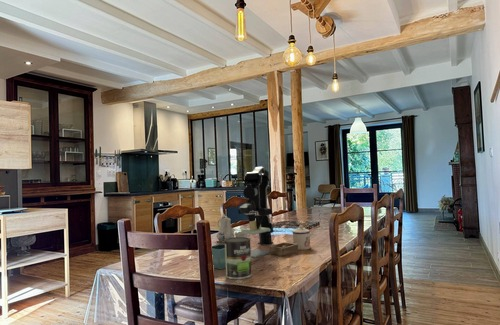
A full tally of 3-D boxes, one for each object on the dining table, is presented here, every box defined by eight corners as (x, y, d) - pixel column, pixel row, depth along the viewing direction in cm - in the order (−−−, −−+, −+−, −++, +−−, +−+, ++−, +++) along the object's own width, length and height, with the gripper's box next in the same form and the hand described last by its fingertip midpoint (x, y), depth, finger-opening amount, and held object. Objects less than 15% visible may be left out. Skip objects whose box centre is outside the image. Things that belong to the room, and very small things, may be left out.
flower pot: (206, 268, 144) (205, 247, 144) (222, 263, 150) (221, 243, 151) (219, 271, 138) (218, 249, 138) (235, 266, 144) (234, 245, 144)
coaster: (238, 254, 166) (238, 253, 166) (255, 250, 174) (255, 248, 174) (255, 258, 157) (255, 256, 157) (272, 253, 166) (272, 251, 166)
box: (269, 254, 163) (269, 246, 164) (284, 250, 171) (283, 242, 171) (283, 256, 157) (283, 248, 157) (298, 252, 165) (297, 244, 165)
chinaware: (253, 244, 198) (254, 215, 200) (229, 245, 189) (230, 215, 190) (229, 238, 221) (230, 212, 223) (206, 239, 212) (208, 212, 213)
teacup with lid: (308, 250, 167) (306, 227, 168) (290, 249, 171) (289, 226, 171) (314, 245, 178) (313, 223, 178) (297, 244, 182) (296, 223, 182)
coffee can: (256, 276, 129) (254, 239, 130) (232, 281, 124) (230, 243, 125) (244, 270, 138) (243, 235, 139) (221, 274, 133) (220, 239, 134)
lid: (241, 233, 165) (240, 221, 165) (256, 230, 173) (256, 219, 173) (254, 235, 159) (253, 223, 159) (269, 231, 167) (269, 220, 167)
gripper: (229, 198, 168) (230, 229, 167) (256, 198, 154) (257, 232, 154) (245, 196, 175) (246, 226, 175) (272, 196, 162) (273, 229, 162)
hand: (255, 228), depth 166 cm, fingers closed on lid, 3 cm apart
